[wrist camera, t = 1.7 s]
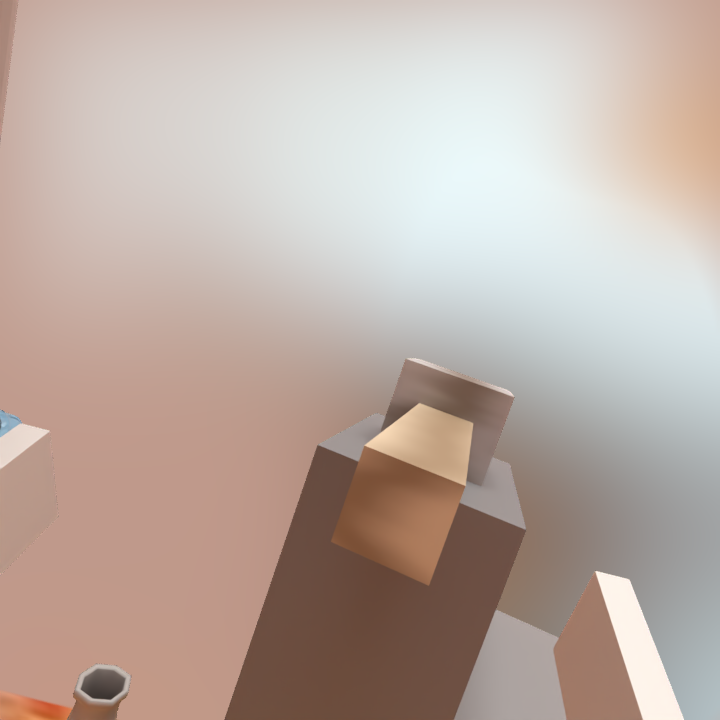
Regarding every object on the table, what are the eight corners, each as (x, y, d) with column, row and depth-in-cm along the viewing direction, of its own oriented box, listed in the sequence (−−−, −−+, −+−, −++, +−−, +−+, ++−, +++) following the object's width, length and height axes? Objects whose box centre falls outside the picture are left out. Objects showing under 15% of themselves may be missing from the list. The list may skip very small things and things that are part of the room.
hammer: (284, 520, 15) (338, 361, 15) (391, 431, 33) (416, 358, 33) (481, 609, 14) (546, 437, 14) (481, 466, 32) (509, 390, 32)
